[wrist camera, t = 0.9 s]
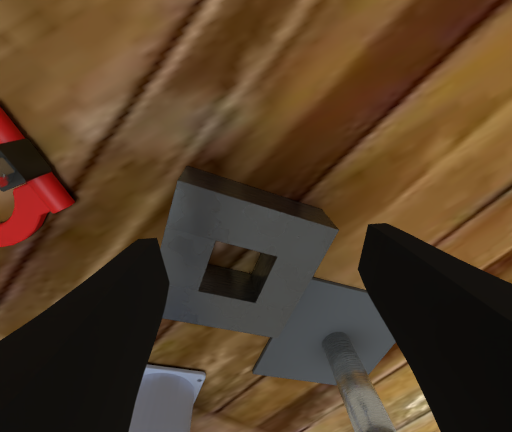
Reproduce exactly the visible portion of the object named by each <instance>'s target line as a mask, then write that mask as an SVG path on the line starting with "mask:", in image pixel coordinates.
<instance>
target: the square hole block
mask: <svg viewBox="0 0 512 432" xmlns="http://www.w3.org/2000/svg"><path fill="white" fill-rule="evenodd" d="M338 231H339V229H338V228H337V227H336V226H335V225H334V223H333V222H332V221H331V220H330V219H329V217H328V216H327V215H326V214H325V213H324V211H323V210H322V209H319V208H316V207H313V206H310V205H307V204H304V203H301V202H298V201H294V200H291V199H288V198H285V197H282V196H279V195H276V194H273V193H270V192H267V191H264V190H261V189H257V188H254V187H251V186H248V185H245V184H242V183H239V182H236V181H233V180H230V179H227V178H224V177H220V176H217V175H214V174H211V173H208V172H205V171H202V170H199V169H196V168H193V167H190V166H186V168H185V169H184V171H183V173H182V174H181V176H180V178H179V179H178V181H177V185H176V189H175V193H174V197H173V201H172V205H171V209H170V213H169V217H168V221H167V225H166V229H165V233H164V237H163V241H162V245H161V249H160V251H161V254H162V258H163V261H164V265H165V268H166V272H167V275H168V278H169V282H170V284H169V290H168V295H167V301H166V306H165V310H164V314H163V317H162V318H164V319H170V320H176V321H181V322H187V323H193V324H198V325H204V326H210V327H216V328H221V329H227V330H233V331H238V332H244V333H250V334H255V335H261V336H267V337H273V338H278V337H279V336H280V334H281V332H282V330H283V328H284V327H285V325H286V323H287V321H288V320H289V318H290V316H291V314H292V312H293V311H294V309H295V307H296V305H297V304H298V302H299V300H300V298H301V296H302V295H303V293H304V291H305V289H306V288H307V286H308V284H309V282H310V281H311V279H312V277H313V275H314V273H315V272H316V270H317V268H318V266H319V265H320V263H321V261H322V259H323V257H324V256H325V254H326V252H327V250H328V249H329V247H330V245H331V243H332V242H333V240H334V238H335V236H336V234H337V233H338ZM215 241H220V242H223V243H227V244H231V245H235V246H239V247H243V248H246V249H250V250H254V251H258V252H261V254H260V257H259V259H258V261H257V263H256V266H255V268H254V270H253V272H252V274H249V273H244V272H240V271H236V270H232V269H228V268H223V267H219V266H215V265H211V264H208V261H209V258H210V256H211V253H212V250H213V247H214V244H215Z"/></svg>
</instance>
